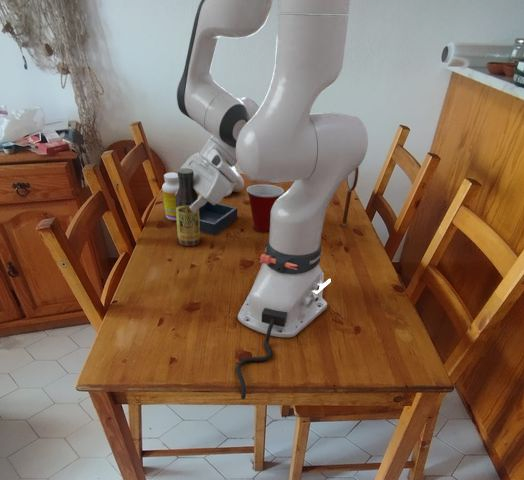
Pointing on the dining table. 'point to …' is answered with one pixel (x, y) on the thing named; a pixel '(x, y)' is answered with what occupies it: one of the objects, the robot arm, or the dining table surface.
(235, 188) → the white knot sculpture
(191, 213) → the sauce bottle
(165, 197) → the supplement bottle
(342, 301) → the dining table surface
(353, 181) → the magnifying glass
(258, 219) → the plastic cup
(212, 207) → the tray
